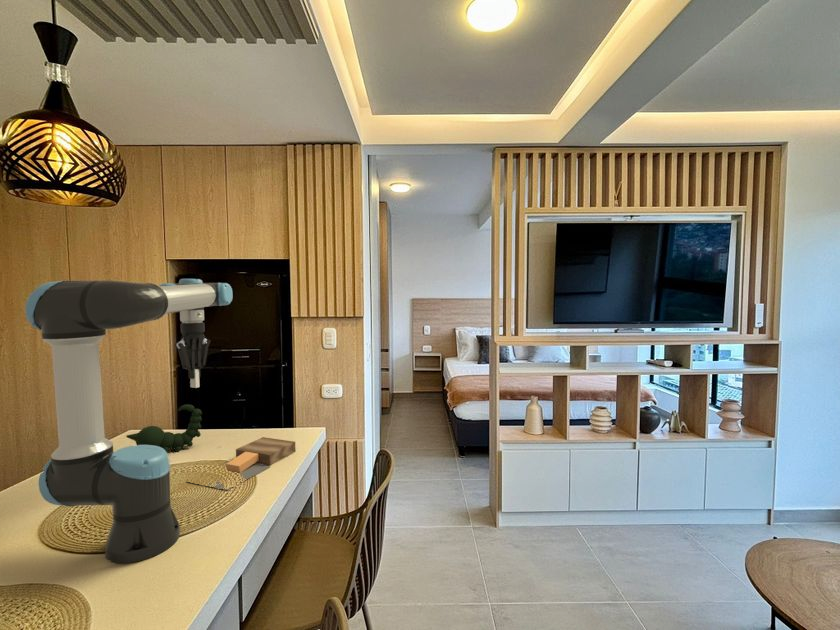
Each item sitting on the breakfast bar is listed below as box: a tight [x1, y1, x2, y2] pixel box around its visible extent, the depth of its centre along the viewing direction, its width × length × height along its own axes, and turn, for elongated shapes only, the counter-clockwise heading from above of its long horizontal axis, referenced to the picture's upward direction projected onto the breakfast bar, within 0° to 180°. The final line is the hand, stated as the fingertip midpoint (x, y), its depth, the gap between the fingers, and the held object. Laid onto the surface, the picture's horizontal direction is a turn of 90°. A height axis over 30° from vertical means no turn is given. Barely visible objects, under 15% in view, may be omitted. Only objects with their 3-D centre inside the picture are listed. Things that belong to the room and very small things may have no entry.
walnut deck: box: [235, 436, 297, 467], centre depth 155 cm, size 14×16×4 cm
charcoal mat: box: [209, 459, 271, 491], centre depth 139 cm, size 19×18×1 cm
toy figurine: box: [125, 403, 203, 453], centre depth 161 cm, size 9×19×25 cm
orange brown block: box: [226, 452, 259, 473], centre depth 144 cm, size 9×6×2 cm, turn 159°
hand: (195, 387), depth 147 cm, fingers closed
